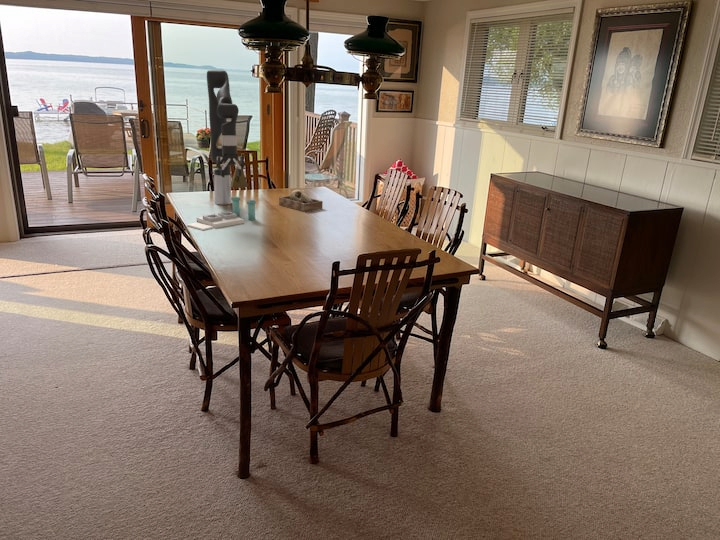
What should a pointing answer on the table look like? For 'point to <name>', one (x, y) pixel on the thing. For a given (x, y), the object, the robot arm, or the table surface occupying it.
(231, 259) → the table surface
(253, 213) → the teal round-knobbed peg
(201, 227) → the lid
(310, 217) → the table surface
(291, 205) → the brown wooden tray
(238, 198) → the teal flared handle
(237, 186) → the pyramid
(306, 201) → the animal skull replica
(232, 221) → the housing
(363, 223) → the table surface
